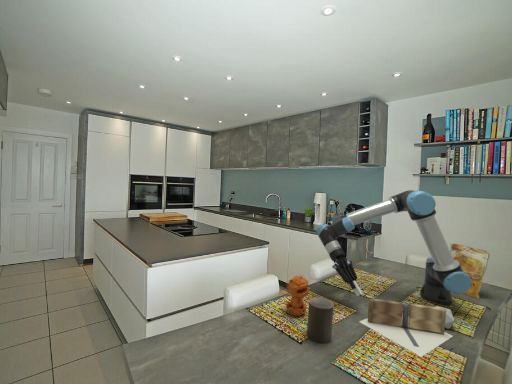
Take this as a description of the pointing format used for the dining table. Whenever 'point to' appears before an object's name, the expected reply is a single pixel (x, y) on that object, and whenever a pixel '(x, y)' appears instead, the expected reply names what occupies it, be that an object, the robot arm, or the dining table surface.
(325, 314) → the pillar candle
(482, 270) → the pancake mix bag
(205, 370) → the dining table surface
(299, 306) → the orange carved figurine
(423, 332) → the board
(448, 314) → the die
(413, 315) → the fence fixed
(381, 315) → the fence gate
